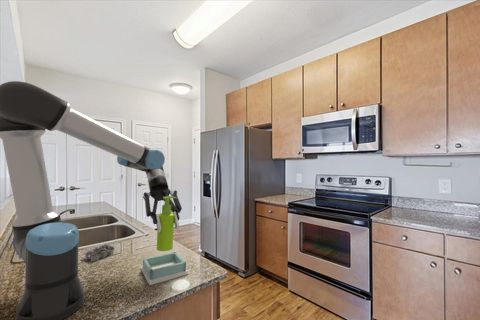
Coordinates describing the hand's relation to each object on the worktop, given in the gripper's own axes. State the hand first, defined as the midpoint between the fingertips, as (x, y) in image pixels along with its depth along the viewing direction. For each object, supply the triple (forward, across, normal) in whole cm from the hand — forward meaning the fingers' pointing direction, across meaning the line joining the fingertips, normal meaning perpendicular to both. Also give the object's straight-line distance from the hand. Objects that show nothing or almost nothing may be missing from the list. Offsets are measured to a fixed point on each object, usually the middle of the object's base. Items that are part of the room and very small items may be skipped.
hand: (168, 229), depth 86 cm
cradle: (+10, +1, -14) cm, 18 cm away
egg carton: (-11, +20, -36) cm, 43 cm away
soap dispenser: (+3, 0, -9) cm, 9 cm away
